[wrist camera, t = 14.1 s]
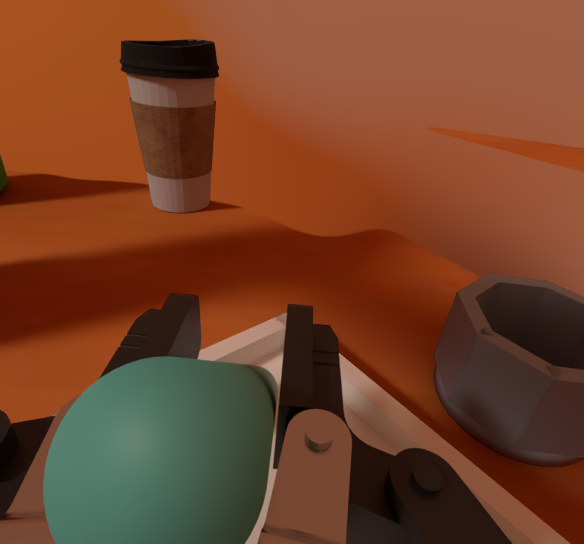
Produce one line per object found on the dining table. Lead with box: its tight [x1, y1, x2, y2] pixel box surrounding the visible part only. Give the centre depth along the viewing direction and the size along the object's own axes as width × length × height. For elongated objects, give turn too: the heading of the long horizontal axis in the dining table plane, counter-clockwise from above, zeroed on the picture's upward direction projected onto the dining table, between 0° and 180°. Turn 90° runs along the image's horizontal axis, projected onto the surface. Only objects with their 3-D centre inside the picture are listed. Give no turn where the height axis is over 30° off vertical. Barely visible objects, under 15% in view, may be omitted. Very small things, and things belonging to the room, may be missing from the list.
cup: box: [434, 274, 584, 467], centre depth 20 cm, size 8×8×6 cm
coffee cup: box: [120, 40, 219, 213], centre depth 37 cm, size 8×8×15 cm
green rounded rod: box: [43, 356, 278, 544], centre depth 11 cm, size 2×2×14 cm
